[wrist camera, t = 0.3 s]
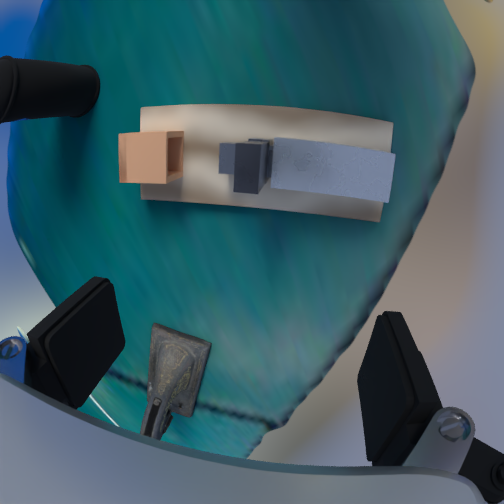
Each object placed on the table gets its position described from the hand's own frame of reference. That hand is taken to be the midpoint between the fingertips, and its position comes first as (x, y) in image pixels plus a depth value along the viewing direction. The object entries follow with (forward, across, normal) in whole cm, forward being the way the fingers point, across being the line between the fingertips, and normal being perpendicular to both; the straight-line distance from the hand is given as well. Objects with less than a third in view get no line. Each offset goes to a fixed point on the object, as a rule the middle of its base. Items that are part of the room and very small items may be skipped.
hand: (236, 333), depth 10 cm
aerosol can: (+28, +30, -14) cm, 43 cm away
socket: (+26, +15, -4) cm, 30 cm away
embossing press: (+29, +16, +34) cm, 48 cm away
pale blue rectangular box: (+26, -5, -4) cm, 27 cm away
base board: (+28, +3, -4) cm, 28 cm away
